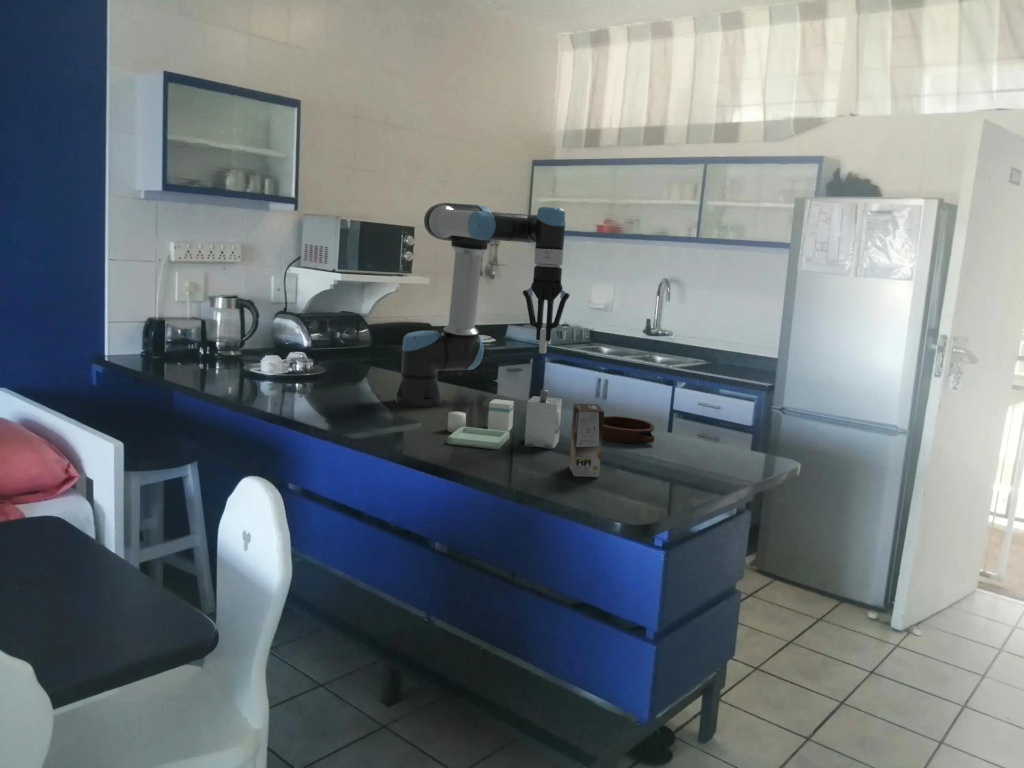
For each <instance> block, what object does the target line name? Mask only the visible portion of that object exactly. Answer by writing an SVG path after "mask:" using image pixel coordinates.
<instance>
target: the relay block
mask: <svg viewBox="0 0 1024 768" xmlns="http://www.w3.org/2000/svg"><path fill="white" fill-rule="evenodd" d="M514 409H515V400H507V399H506V400H505V399H498V398H497V399H496V398H494V399H492V400H491V401H490V402H489V403H488V419H487V420H488V422H487V429H491V430H500V431H509V432H511V429H513V424H514V422H513V421H514Z"/></svg>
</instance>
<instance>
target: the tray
mask: <svg viewBox="0 0 1024 768" xmlns="http://www.w3.org/2000/svg"><path fill="white" fill-rule="evenodd" d="M510 436H511V431H500V430H491V429H488V428H481V427H471V426H465V427H460V428H459V429H458V430H456V431H455V432H451V434H450V435H448V436H447V438H446V439H447V442H446V444H447V445H454V446H455V445H456V446H463V447H471V448H481V449H491V450H500V449H501V448H502V447H503V446H504V445H505V444H506V443H507V441H508V440H509V439H510V438H511V437H510Z"/></svg>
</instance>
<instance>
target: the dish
mask: <svg viewBox="0 0 1024 768" xmlns="http://www.w3.org/2000/svg"><path fill="white" fill-rule="evenodd" d="M654 430H655V425H654V424H653V422H650V421H647V420H643V419H639V418H634V417H629V416H620V415H619V416H618V415H616V416H615V415H612V416H611V415H608V416H606V415H604V421H603V434H602V440H604V441H608V442H612V443H620V444H621V443H622V444H638V443H648V444H652V443H654V442H655V438H656V437H655V435H653V434H652V431H654Z"/></svg>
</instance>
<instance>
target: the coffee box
mask: <svg viewBox="0 0 1024 768" xmlns="http://www.w3.org/2000/svg"><path fill="white" fill-rule="evenodd" d="M604 416H605V411H604V410H603V409H602V407H600V405H599V404H593V403H573V405H572V418H571V419H572V421H571V434H570V435H571V436H570V447H569V448H570V450H569V463H568V464H569V465H568V467H569V469H570V471H571V473H572V475H573V477H583V478H584V477H585V478H587V477H588V478H599V477H600V471H601V469H600V468H601V459H602V458H601V457H602V444H603V443H602V442H603V439H602V434H603V421H604Z"/></svg>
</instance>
